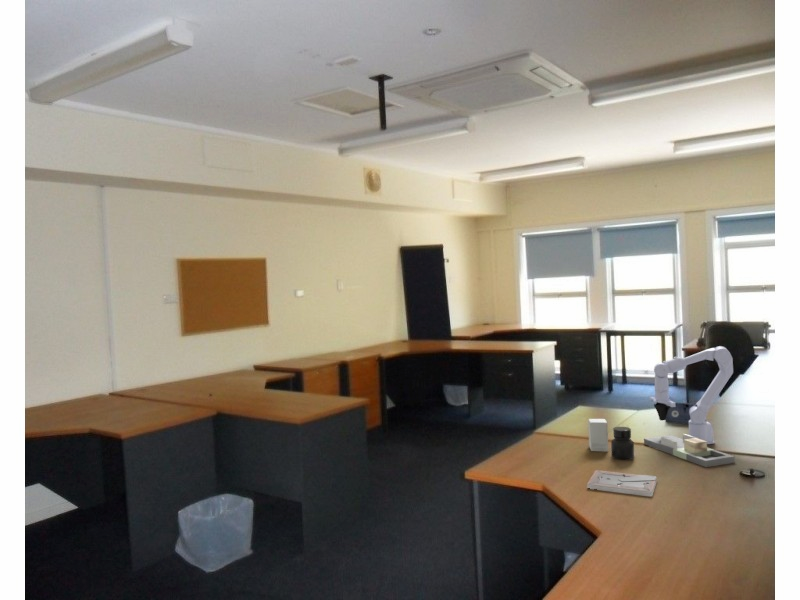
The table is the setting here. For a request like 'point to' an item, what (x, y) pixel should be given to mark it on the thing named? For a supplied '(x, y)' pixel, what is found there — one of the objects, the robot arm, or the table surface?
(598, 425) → the supplement box
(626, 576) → the table surface
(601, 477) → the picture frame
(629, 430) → the ink bottle
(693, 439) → the birch block
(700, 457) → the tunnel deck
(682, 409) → the vhs cassette tape
